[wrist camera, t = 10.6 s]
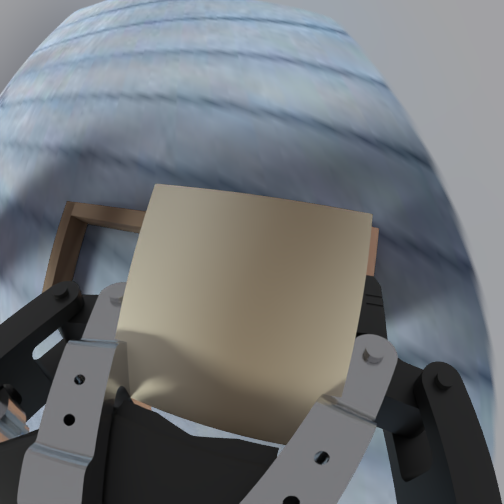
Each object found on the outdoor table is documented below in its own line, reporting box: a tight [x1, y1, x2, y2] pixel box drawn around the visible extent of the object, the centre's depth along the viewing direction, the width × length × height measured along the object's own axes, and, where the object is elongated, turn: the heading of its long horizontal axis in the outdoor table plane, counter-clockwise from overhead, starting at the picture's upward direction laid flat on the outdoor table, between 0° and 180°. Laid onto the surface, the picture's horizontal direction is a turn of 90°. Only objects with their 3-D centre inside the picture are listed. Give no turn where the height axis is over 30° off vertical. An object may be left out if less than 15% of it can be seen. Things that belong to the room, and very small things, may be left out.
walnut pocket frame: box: [42, 201, 146, 293], centre depth 21 cm, size 10×10×2 cm
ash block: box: [115, 184, 373, 445], centre depth 10 cm, size 5×5×9 cm
